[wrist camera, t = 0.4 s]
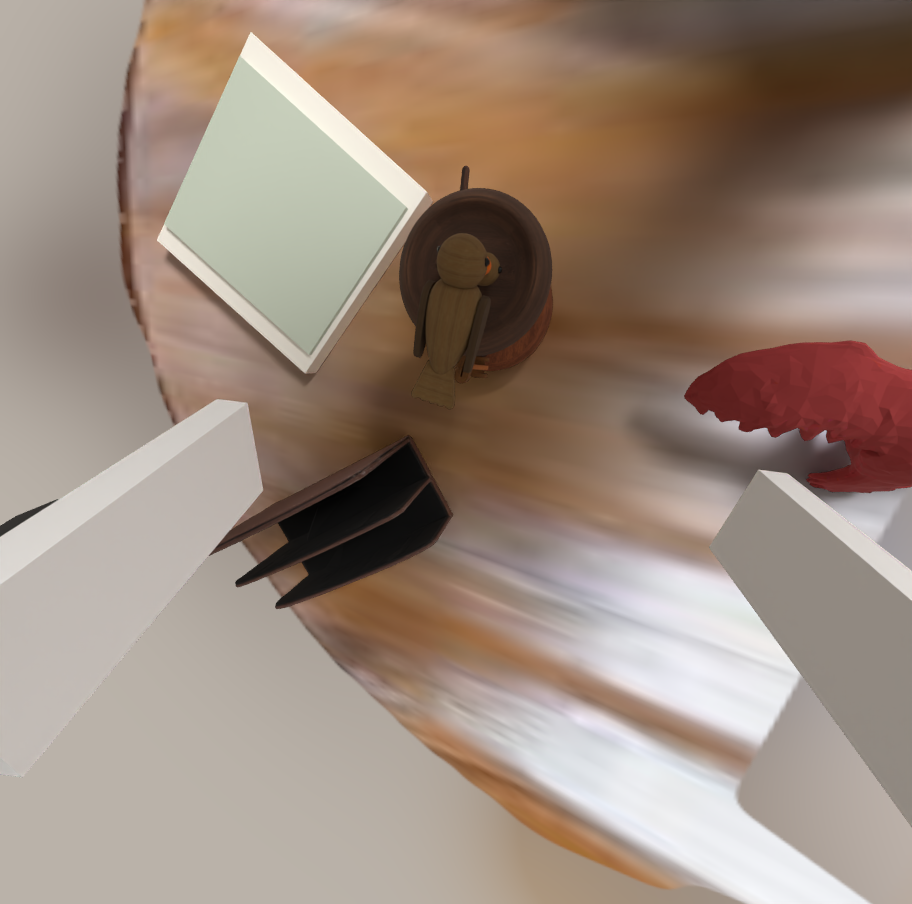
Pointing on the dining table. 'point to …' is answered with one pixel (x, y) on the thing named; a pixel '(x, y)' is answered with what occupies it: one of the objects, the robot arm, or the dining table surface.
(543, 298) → the music box
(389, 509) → the letter holder
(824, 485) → the red winged figure
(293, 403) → the dining table surface
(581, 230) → the dining table surface
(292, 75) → the display stand
